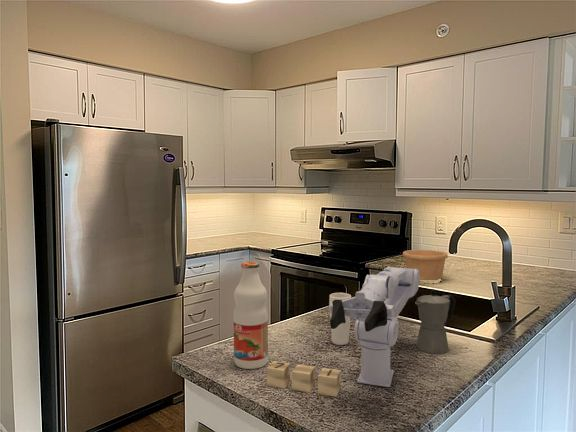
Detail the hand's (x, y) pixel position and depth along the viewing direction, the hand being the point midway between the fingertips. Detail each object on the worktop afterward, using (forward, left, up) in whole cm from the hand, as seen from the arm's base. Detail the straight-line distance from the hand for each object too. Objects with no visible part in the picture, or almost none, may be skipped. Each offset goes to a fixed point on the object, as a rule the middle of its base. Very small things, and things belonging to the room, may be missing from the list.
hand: (348, 325), depth 91 cm
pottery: (-142, +11, -20) cm, 144 cm away
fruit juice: (-19, -31, -20) cm, 41 cm away
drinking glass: (-42, -11, -20) cm, 48 cm away
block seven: (-10, -20, -20) cm, 30 cm away
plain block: (-10, -13, -20) cm, 26 cm away
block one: (-10, -7, -20) cm, 23 cm away
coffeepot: (-47, +17, -20) cm, 54 cm away
